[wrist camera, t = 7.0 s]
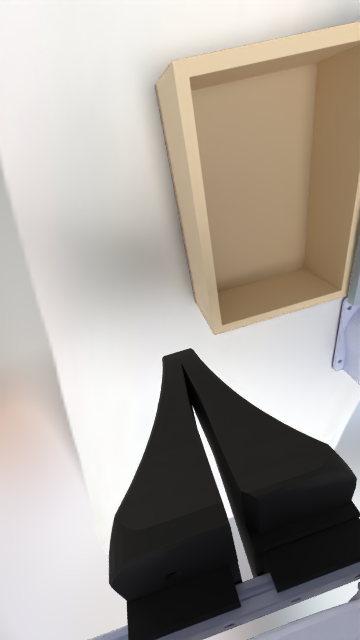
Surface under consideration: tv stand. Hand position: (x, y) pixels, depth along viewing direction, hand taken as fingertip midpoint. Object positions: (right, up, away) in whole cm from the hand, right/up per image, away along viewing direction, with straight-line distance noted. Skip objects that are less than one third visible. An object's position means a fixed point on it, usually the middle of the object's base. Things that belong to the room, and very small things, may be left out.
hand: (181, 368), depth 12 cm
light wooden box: (+5, +11, +7) cm, 14 cm away
